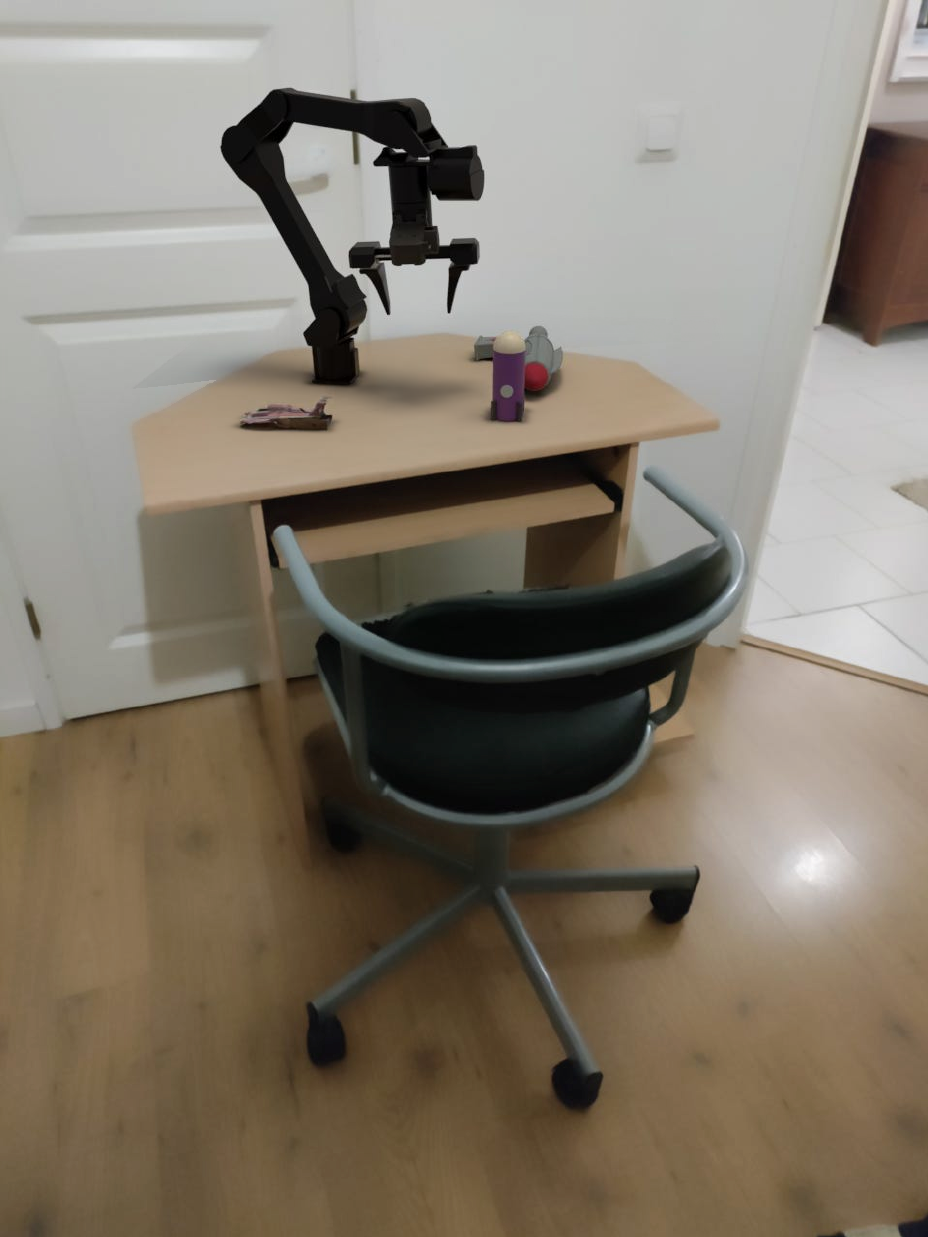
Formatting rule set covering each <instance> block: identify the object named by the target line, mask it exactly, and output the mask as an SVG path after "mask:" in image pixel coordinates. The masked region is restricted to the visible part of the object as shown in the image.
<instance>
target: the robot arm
mask: <svg viewBox="0 0 928 1237" xmlns="http://www.w3.org/2000/svg"><path fill="white" fill-rule="evenodd" d="M294 123H296V124H303V125H309V126H314V127H319V128H327V129H333V130H339V131H346V132H351V133H356V134H360V135H362V136H365V138H368V139H369V140H370V141H373V142H375V143H377V144H380V145H383V146H384V147H382V149H381V151H380V153H379V155H378V156H376V158H375V159H374V160H373V162H372V165H373V166H374V167H376V168H377V167H379V168H380V167H387V169H388V183H389V194H390V196H389V197H390V208H391V220H392V221H391V222H392V223H391V227H390V233H389V239H388V246H383V247H382V245H381V242H380V241H379V240H372V241H371V240H370V241H356V243H354V244H353V245H352V246H351V248H349V250H348V255H347V256H348V266H349V267H348V268H349V269H352V270H353V269H359V270H358V272H359V274H360V275H366V276H367V278H368V279H369V280H370V281H371V283H372V285H373V287H374V288H375V290H376V292H377V295H378V297H379V299H380V301H381V304H382V306H383V309H384V311H385V314H386V315H387V316H390V315H391V299H390V298H391V297H390V291H389V286H388V278H387V273H386V272H387V271H386V266H385V262H387V261H389V262H390V261H391V265H393V266H395V267H401V266H403V265H404V266H405V265H406V266H407V265H408V266H409V265H413V266H416V267H417V266H423V265H424V264H426V262H427V260H448V259H449V262H450V264H449V266H448V268H447V271H448V280H447V281H448V282H447V294H446V295H447V296H446V307H447V308H446V311H447V312H446V313H447V315H448V314H449V315H450V314H451V312H452V308H453V304H454V301H455V296H456V292H457V288H458V284H459V282H460V278H461V275H462V273H463V272H467V271H469V270H470V269H471V267H472V266H473V265H478V264H479V261H480V258H481V253H480V251H481V250H480V241H479V240H478V239H477V238H476V237H464V238H463V237H461V238H460V237H459V238H452V239H451V240H450V243H449V244H441V243H440V242H441V241H440V240H441V239H440V232H439V226H438V225H433V210H432V208H433V207H432V196H435V197H436V200H438V201H439V202H479V201H480V200H481V199H482V197H483V193H484V188H485V170H484V169H483V164H482V160H481V157H480V156H479V154H478V153H479V152H478V146H477V145H476V144H473V145H472V144H471V145H470V144H469V145H465V146H451V147H450V146H449V145H448V144H447V142H446V141H445V138H443V136H442V135H441V134H440V131H438V129H437V127H436V126H435V125H434V124H433V121H432V115H431V113H430V110H429V108H428V107H427V106H426V103H425V102H424V101H423V100H421V99H419V98H416V97H404V98H391V99H390V98H389V99H380V100H361V99H356V98H349V97H341V96H335V95H330V94H322V93H316V92H309V91H302V90H298V89H296V88H293V87H284V88H282V87H281V88H274V89H272V90H270V91H269V92H268V93H267V95H266V96H265V97H264V98H263V100H261V102H259V104H257V106H256V107H254V108H253V109H252V110H251V111H249V112H248V113H247V114H246V115H245V116H244V117H242V118H241V119H240V120H239V121H238V123H237V124H235V125H231V126H229V127H227V128H226V129H225V130H224V132H223V133H222V137H221V143H220V146H219V147H220V153H221V155H222V158H223V159H224V161H225V163H226V164H227V165H228V166H229V168H230V169H231V170H232V172H233V173H234V175H235V176H236V177H237V179H239V181H240V182H242V183H243V184H245V185H246V186H247V187H248V188H249V189H251V190H252V191H253V192H254V193H255V194H256V195H257V196H258V198H259V200H260V201H261V203H262V205H263V207H264V208H265V210H266V212H267V214H268V215H269V218H270V219H271V221H272V223H273V224H274V226H275V228H276V230H277V232H278V234H279V235H280V237H281V238H282V240H283V243H284V244H285V246H286V247H287V249H288V251H289V253H290V255H291V257H292V259H293V260H294V262H295V264H296V265H297V267H298V269H299V271H300V273H301V274H302V276H303V278H304V280H305V282H306V284H307V287H308V296H309V306H310V308H311V311H312V313H313V316H314V318H315V319H314V320H313V321H312V322H311V323H310V324H309V325H308V326H307V328H305V330H304V331H303V332H302V335H303V338H304V340H305V343H306V346H308V347H311V352H312V353H311V354H312V363H313V364H312V365H313V372H314V375H313V377H312V378H311V383H314V384H331V385H351V384H352V383H353V382H354V381H355V379H356V377H358V375H359V374H360V372H361V371H360V357H359V349H358V347H355V346H356V345H355V338H354V336H356V335H357V334H358V332H359V328H360V325H362V324H363V323H364V321H365V320H366V317H367V313H368V305H367V302H366V301H365V299H367V295H366V294H365V293H364V292H363V291H362V289H361V288H360V286H359V285H360V284H359V283H358V281H357V278H356V276H355V274H353V273H350V274H348V275H347V276H344V275H343V274H342V273H341V272H340V271H338V270H337V269H336V267H335V266H334V264H333V262H332V260H331V259H330V257H329V255H328V253H327V252H326V250H325V247H324V245H323V244H322V242H321V240H320V239H319V237H318V235H317V233H316V231H315V230H314V228H313V225H312V224H311V222H310V220H309V218H308V217H307V215H306V212H305V211H304V209H303V207H302V206H301V204H300V202H299V200H298V198H297V197H296V195H295V193H294V191H293V189H292V188H291V187H292V186H290V183H289V182H288V179H287V176H286V166H285V158H284V157H285V156H284V155H283V151H282V149H281V147H280V145H281V143H282V142H283V140H284V139H286V137H287V136H288V134H289V132H290V131H291V128H292V127H293V125H294ZM396 150H403V151H396ZM426 158H427V159H426ZM440 244H441V245H440Z"/></svg>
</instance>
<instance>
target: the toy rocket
mask: <svg viewBox="0 0 928 1237" xmlns="http://www.w3.org/2000/svg"><path fill="white" fill-rule="evenodd" d="M496 337H497V338H496V340H495V342H494V345H493V357H492V390H491V392H492V393H491V394H492V395H491V396H492V397H491V398H492V399H491V401H490V420H491V421H496V420H498V421H503V422H515V421H517V422H519V423H520V422H522V421H523V417H524V413H525V398H526V394H525V387H524V377H525V350H526V346H525V342H524V340H525V339H524V338H523V337H522V335H521V334H519V333H518V332H516V331H512V330H508V331H504V332H501V333H500V334H499V335H497V336H496Z"/></svg>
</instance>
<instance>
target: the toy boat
mask: <svg viewBox="0 0 928 1237" xmlns="http://www.w3.org/2000/svg"><path fill="white" fill-rule="evenodd" d="M332 398H333V397H332V396H330V395H329V396H328V395H323V396H321V397H320V399H318V401H317V402H316V403H315V406H314V408H308V409H307V408H302V407H301V406H293V405H290V404H286V403H277V402H276V403H275V402H274V403H272V402H269V403H267V407H266V406H262V407H259V409H257V410H252V411H251V410H250V411H247V412H244V415H245V416H246V417H243V418H240V419H239V421H240V423H239V425H243V424H246V423H247V424H248V425H251V424H258V425H266V423H273V424H276V426H277V427H278V428H283V429H285V428H286V429H288V428H293V429H313V430H319V429H320V430H321V429H328V427H329V425H330V423H331V422H332V420H333V414H331V413H330V414H327V413H325V411H324V410H325V406H326V405H327V403H329V401H330V400H331V399H332Z"/></svg>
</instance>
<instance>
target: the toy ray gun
mask: <svg viewBox="0 0 928 1237" xmlns="http://www.w3.org/2000/svg"><path fill="white" fill-rule="evenodd" d="M548 336H549V334H548V330H547V329H546V328H545V327H544V326H542V325H535V326H533V327H532V328H531V329H530V330H529V332H528V336H526V337H525V338H524V339H523V340H524V342H525V346H526V350H525V377H524V389H526V390H528V391H531V392H537V391H541V390H543V388H545V387H547V385H548V384H549V382H550V380H551V379H552V376H553V374H555V373H557V372H558V371H559V370H560V368H561V366H562V363H563V359H564V353H563V349H562V346H559V347H557V348H556V349H554V346H553V343H552V341H551V340H550V338H549V337H548ZM497 337H498V336H483V335H479V336H478V338H477V339H476V340H475V342H474V343H473V348H474V355H475V361H476V362H478V361H480V360H482V359H488V358H493V345H494V342H495V340H496V338H497Z"/></svg>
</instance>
